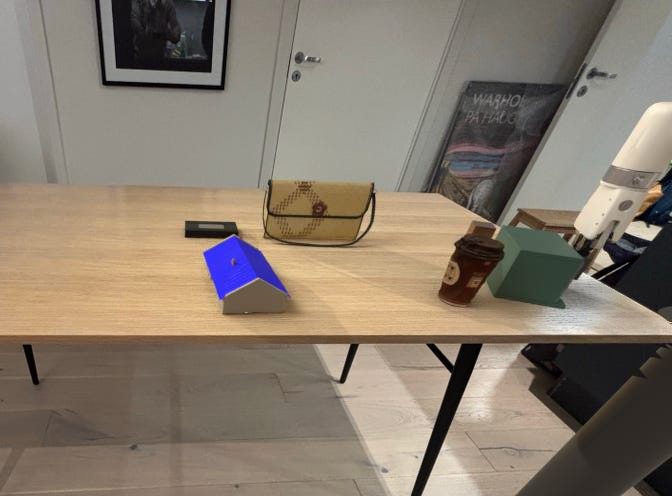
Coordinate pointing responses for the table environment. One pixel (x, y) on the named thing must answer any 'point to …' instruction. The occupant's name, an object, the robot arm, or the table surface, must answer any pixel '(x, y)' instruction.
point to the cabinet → (534, 266)
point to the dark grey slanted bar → (587, 261)
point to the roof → (244, 278)
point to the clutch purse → (317, 210)
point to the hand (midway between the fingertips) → (569, 266)
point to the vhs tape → (210, 229)
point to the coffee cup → (469, 268)
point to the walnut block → (481, 228)
